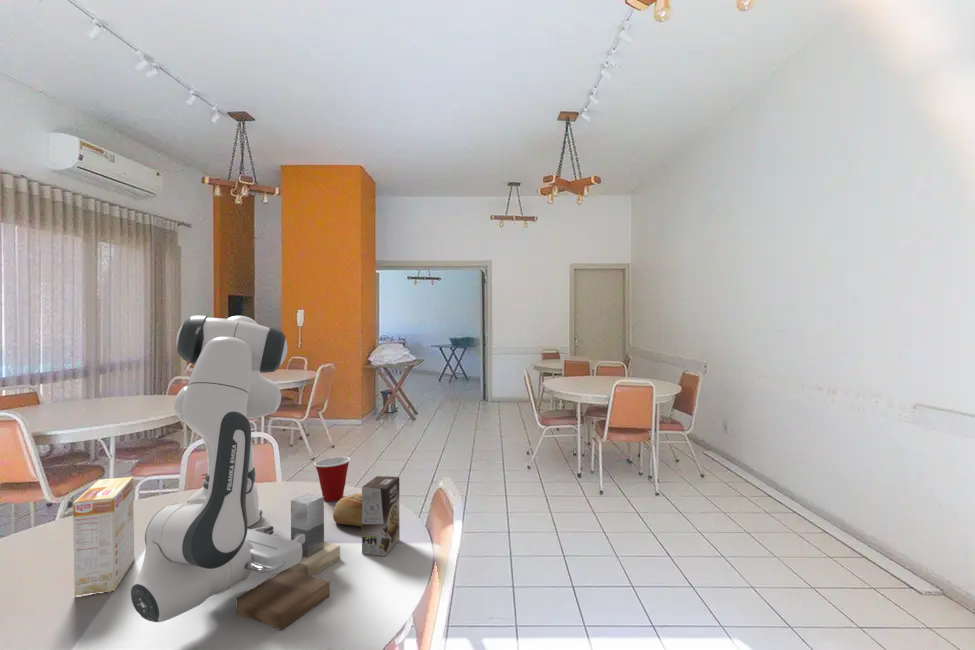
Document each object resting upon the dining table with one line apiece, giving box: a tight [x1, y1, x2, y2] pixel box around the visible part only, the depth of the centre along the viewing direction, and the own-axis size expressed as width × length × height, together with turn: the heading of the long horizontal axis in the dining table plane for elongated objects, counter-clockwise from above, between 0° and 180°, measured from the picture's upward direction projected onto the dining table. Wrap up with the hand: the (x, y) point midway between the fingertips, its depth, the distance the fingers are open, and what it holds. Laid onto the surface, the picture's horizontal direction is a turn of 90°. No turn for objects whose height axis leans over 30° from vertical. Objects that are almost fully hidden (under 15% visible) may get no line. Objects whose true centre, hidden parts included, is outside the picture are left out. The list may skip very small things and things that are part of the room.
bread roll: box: [332, 493, 362, 528], centre depth 135 cm, size 10×15×8 cm, turn 73°
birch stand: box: [288, 541, 341, 577], centre depth 113 cm, size 10×10×3 cm
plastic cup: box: [313, 456, 351, 503], centre depth 154 cm, size 11×11×12 cm
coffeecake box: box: [71, 476, 135, 597], centre depth 107 cm, size 15×7×20 cm, turn 22°
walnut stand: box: [235, 569, 331, 631], centre depth 97 cm, size 12×12×3 cm
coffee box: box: [361, 475, 401, 557], centre depth 121 cm, size 9×6×16 cm
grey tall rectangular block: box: [290, 493, 325, 558], centre depth 113 cm, size 5×5×12 cm
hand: (286, 533), depth 108 cm, fingers open, 8 cm apart
